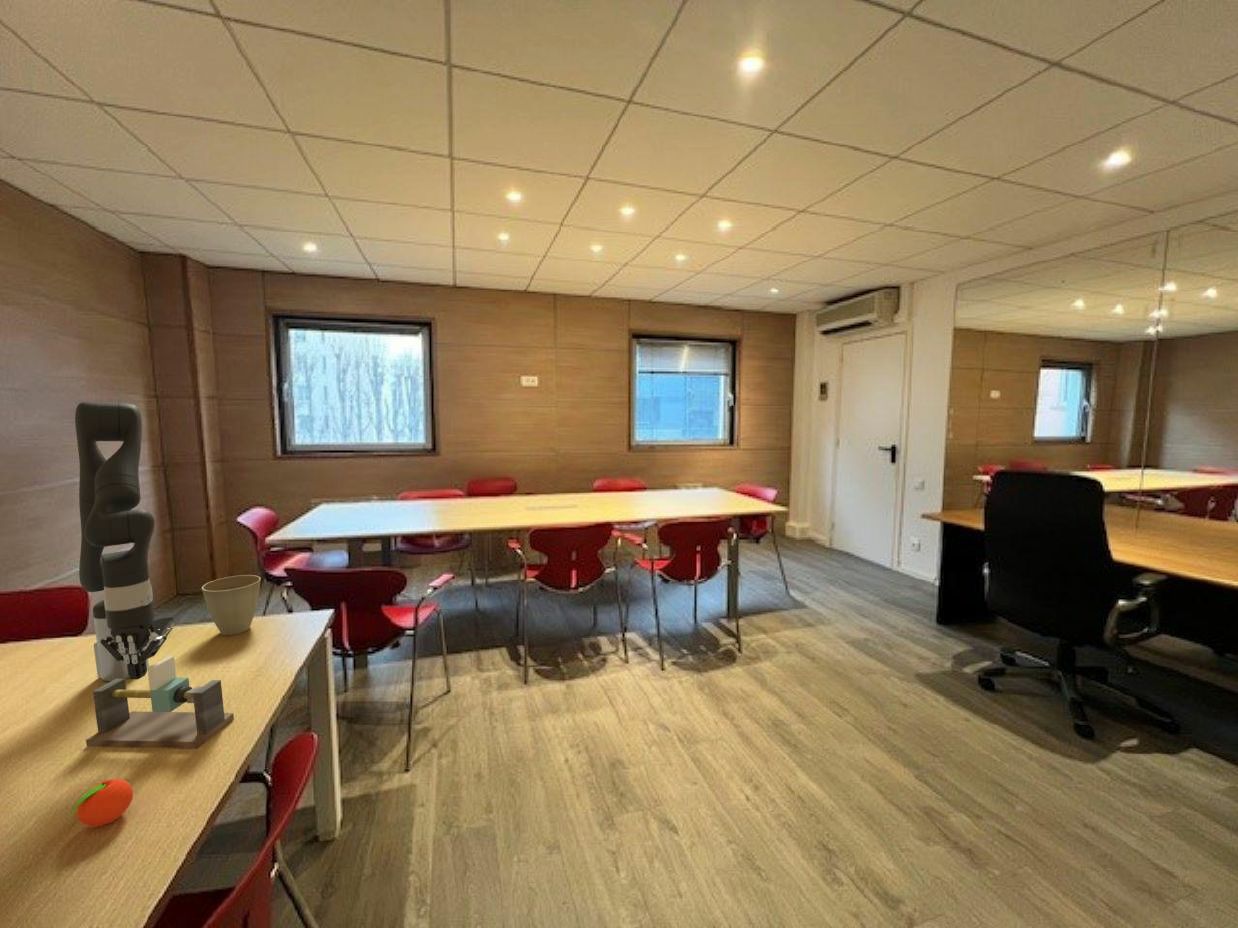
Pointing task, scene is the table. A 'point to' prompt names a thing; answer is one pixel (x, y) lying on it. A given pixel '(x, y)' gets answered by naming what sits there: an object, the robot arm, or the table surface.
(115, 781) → the clementine
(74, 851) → the table surface
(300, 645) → the table surface
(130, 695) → the horizontal rod stand
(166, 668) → the teal sliding block
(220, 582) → the plant pot
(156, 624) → the black sponge
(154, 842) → the table surface
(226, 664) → the table surface
